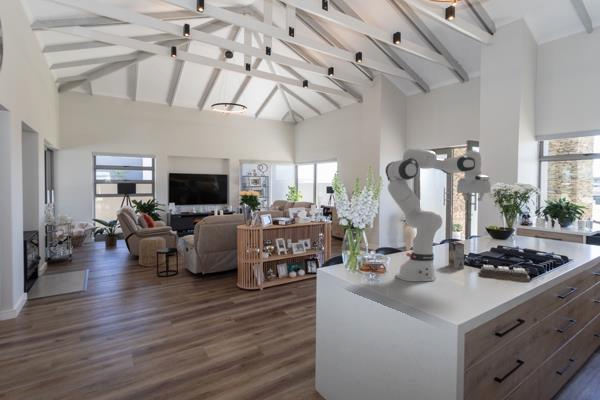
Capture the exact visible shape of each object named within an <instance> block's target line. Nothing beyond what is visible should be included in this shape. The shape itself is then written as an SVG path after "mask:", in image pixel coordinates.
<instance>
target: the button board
mask: <svg viewBox="0 0 600 400" xmlns="http://www.w3.org/2000/svg"><path fill="white" fill-rule="evenodd" d="M479 277H482V278H483V277H484V278H485V277H486V278H490V279H491V278H492V279H502V280H510V281H518V282H519V281H520V282H525V281H528V282H529V283H531V277H530V276H529V274H528V272H527V271H526V270H525V273H516V272H514V271H513V269H509V272H507V271H498V267H494V270H488V269H484V268H483V266H481V268H480V269H479ZM528 282H527V283H528Z"/></svg>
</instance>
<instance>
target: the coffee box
mask: <svg viewBox="0 0 600 400" xmlns="http://www.w3.org/2000/svg"><path fill="white" fill-rule="evenodd" d="M448 266H449V267H451V268H453V269H465V244H464V243H462V242H459V241H448Z"/></svg>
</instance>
